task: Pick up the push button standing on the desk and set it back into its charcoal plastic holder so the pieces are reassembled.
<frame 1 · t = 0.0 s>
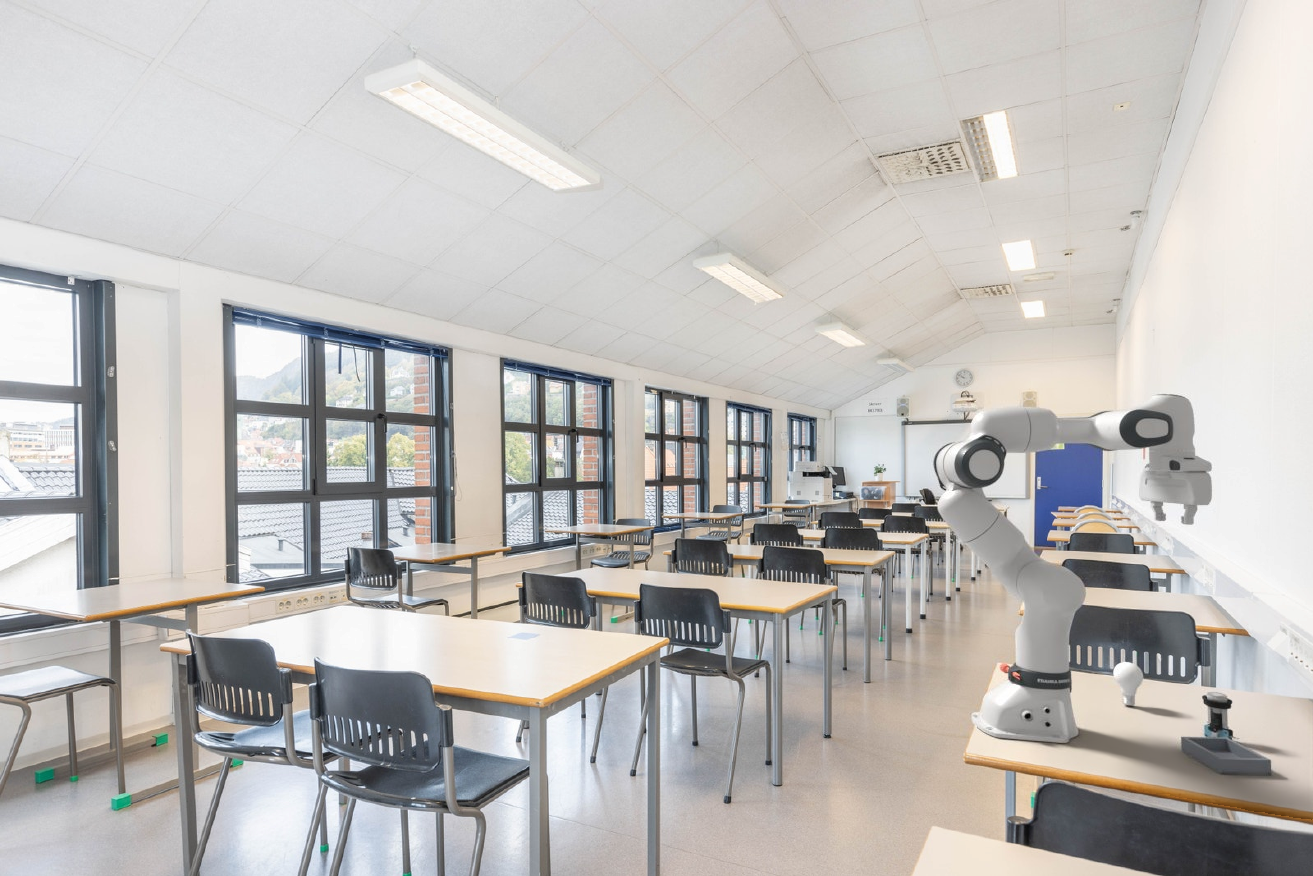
hand: (1173, 522, 167), 48 cm above the table, tool pointing down, fingers open, 8 cm apart
lightbulb: (1128, 706, 182), on the table
push button: (1221, 741, 159), on the table
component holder: (1224, 762, 148), on the table
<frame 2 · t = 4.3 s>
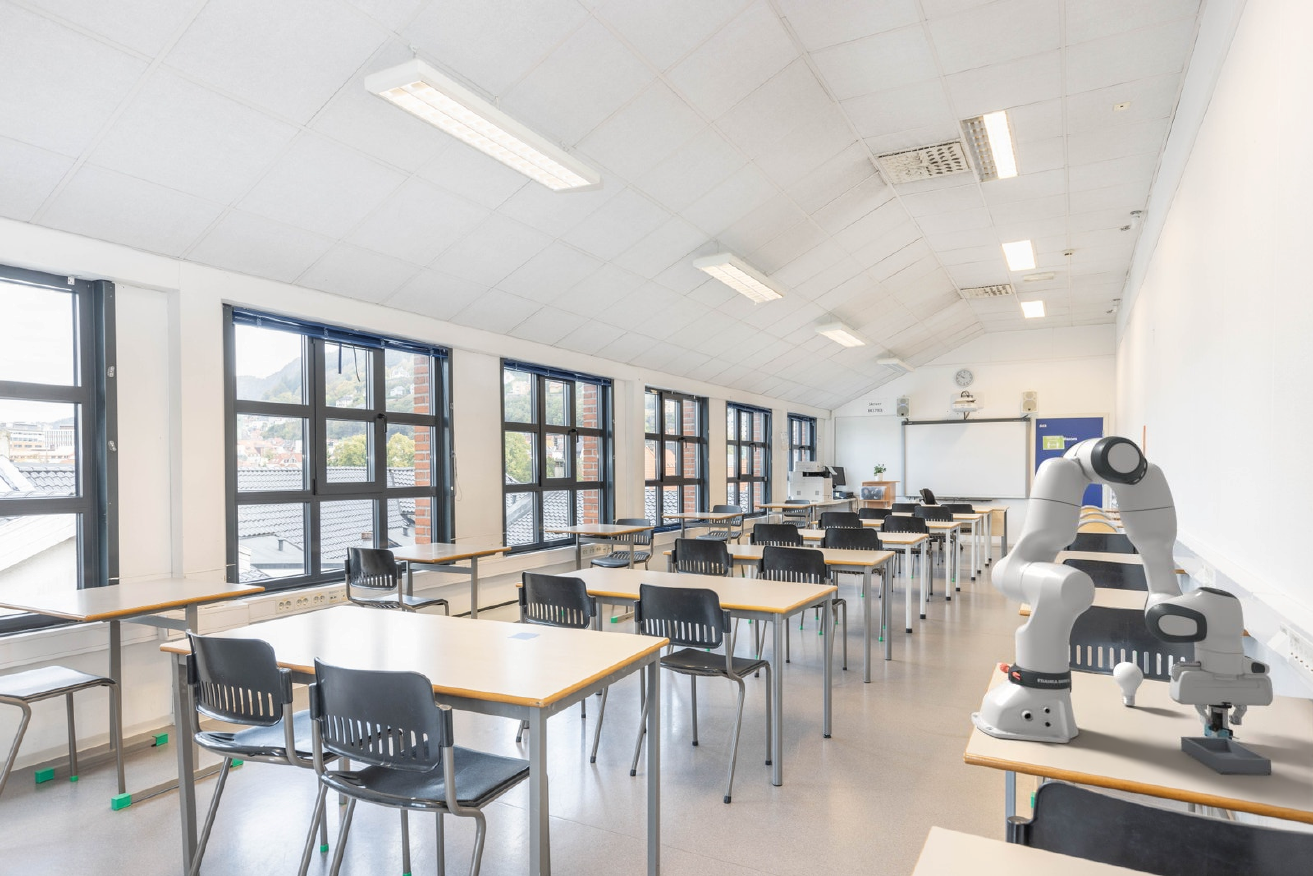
hand: (1220, 724, 159), 4 cm above the table, tool pointing down, fingers closed on push button, 5 cm apart
push button: (1221, 741, 159), on the table, touching gripper
everything else where it was.
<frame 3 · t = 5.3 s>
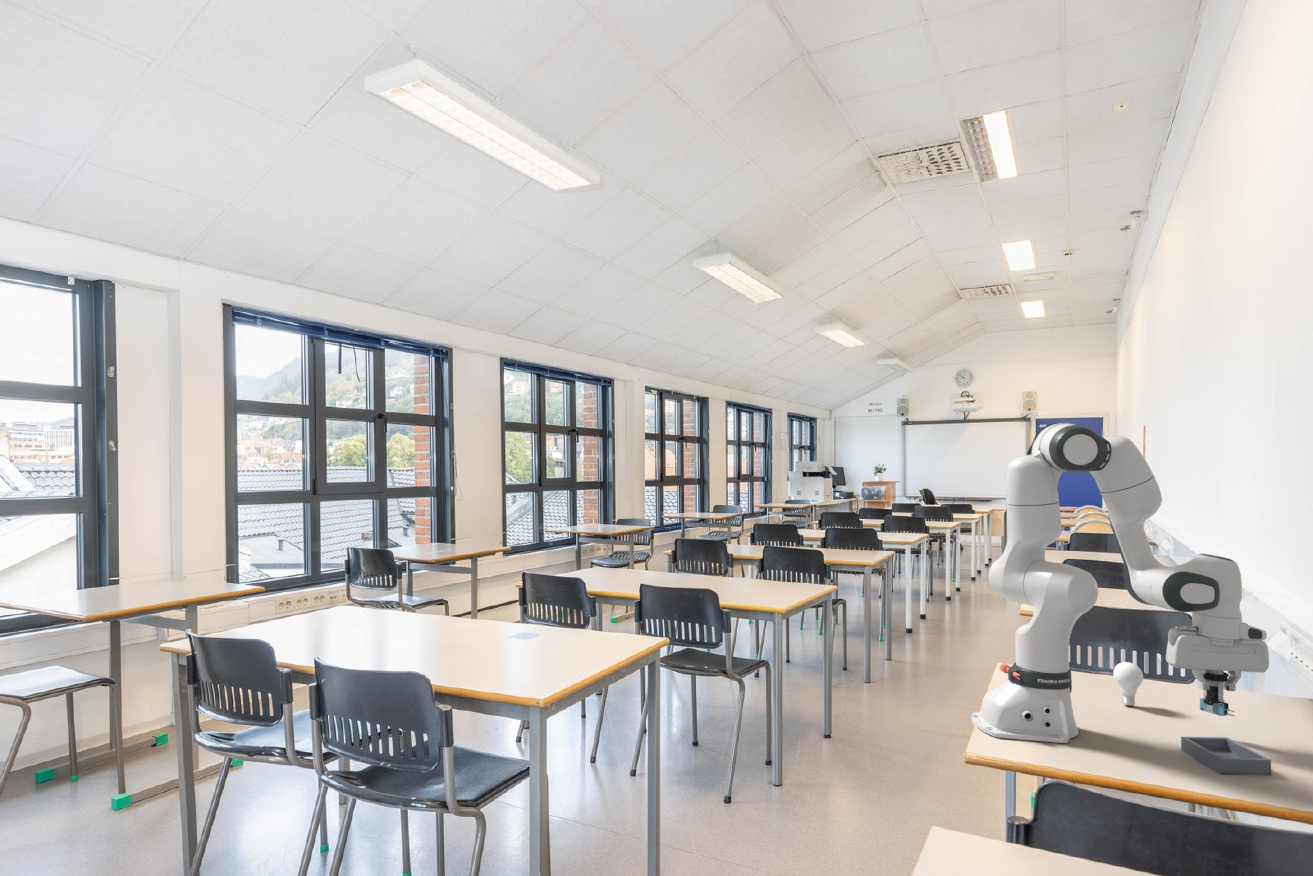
hand: (1216, 689, 160), 11 cm above the table, tool pointing down, fingers closed on push button, 4 cm apart
push button: (1216, 714, 160), point 6 cm above the table, touching gripper
everything else where it was.
when the fingers open (6 cm above the table, at t = 10.1 s): push button stays where it is, resting on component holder.
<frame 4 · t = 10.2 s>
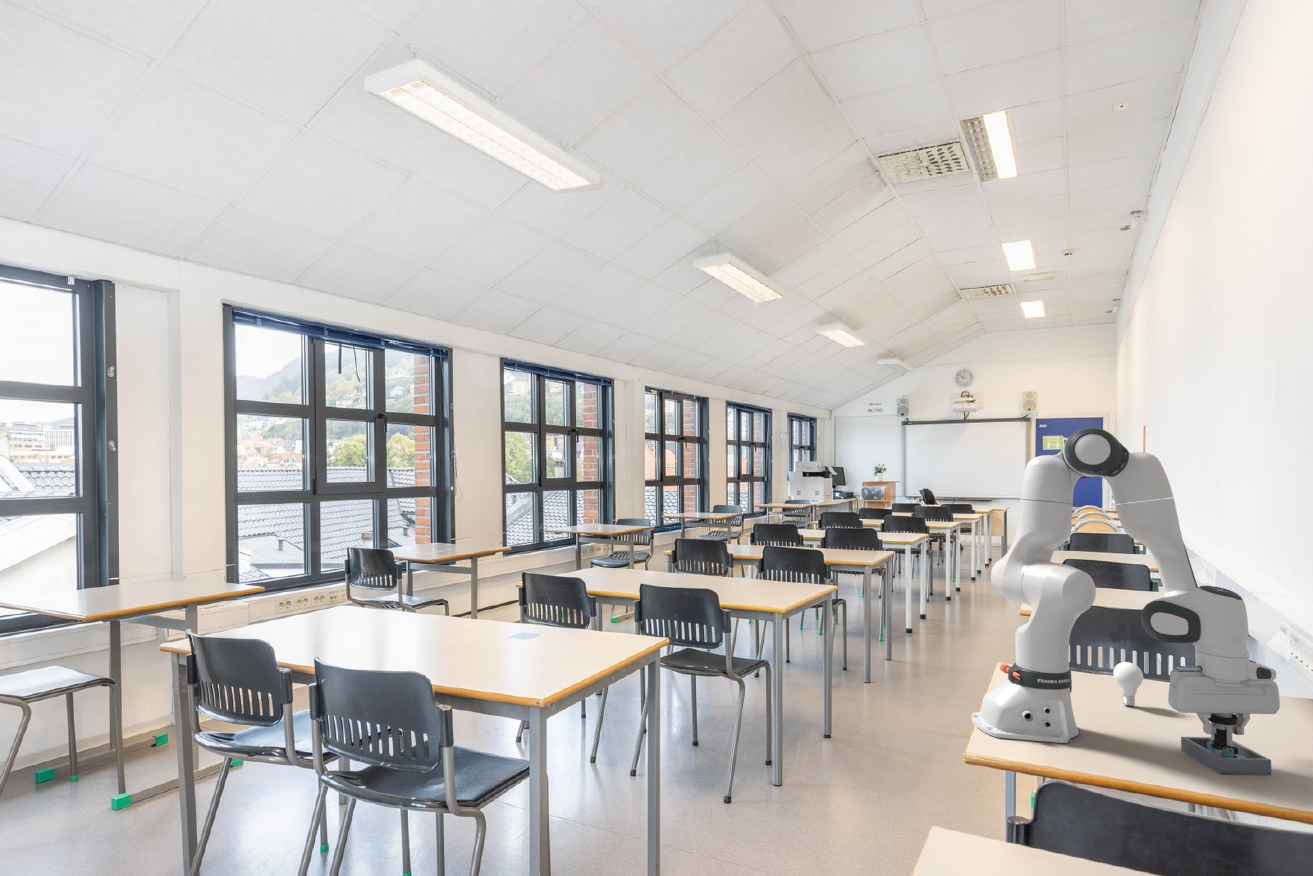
hand: (1223, 733, 148), 6 cm above the table, tool pointing down, fingers open, 4 cm apart
push button: (1225, 760, 148), resting on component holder
everything else where it was.
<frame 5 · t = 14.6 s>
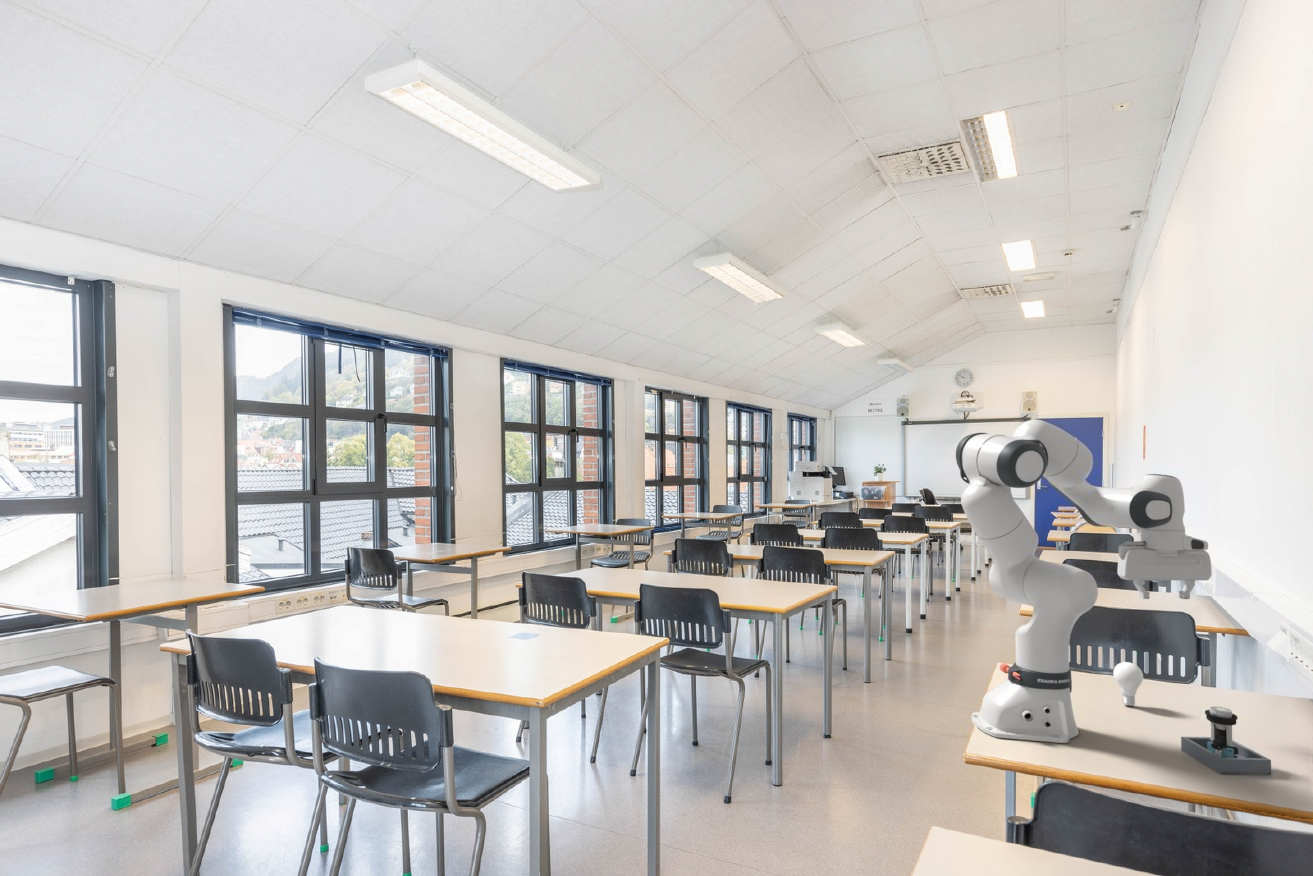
hand: (1164, 598, 172), 29 cm above the table, tool pointing down, fingers open, 8 cm apart
nothing on the table moved.
at the end: push button 0.6 cm off-centre on the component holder, point 0.4 cm above the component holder's base; push button tilted 0°; the gripper is holding nothing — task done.
